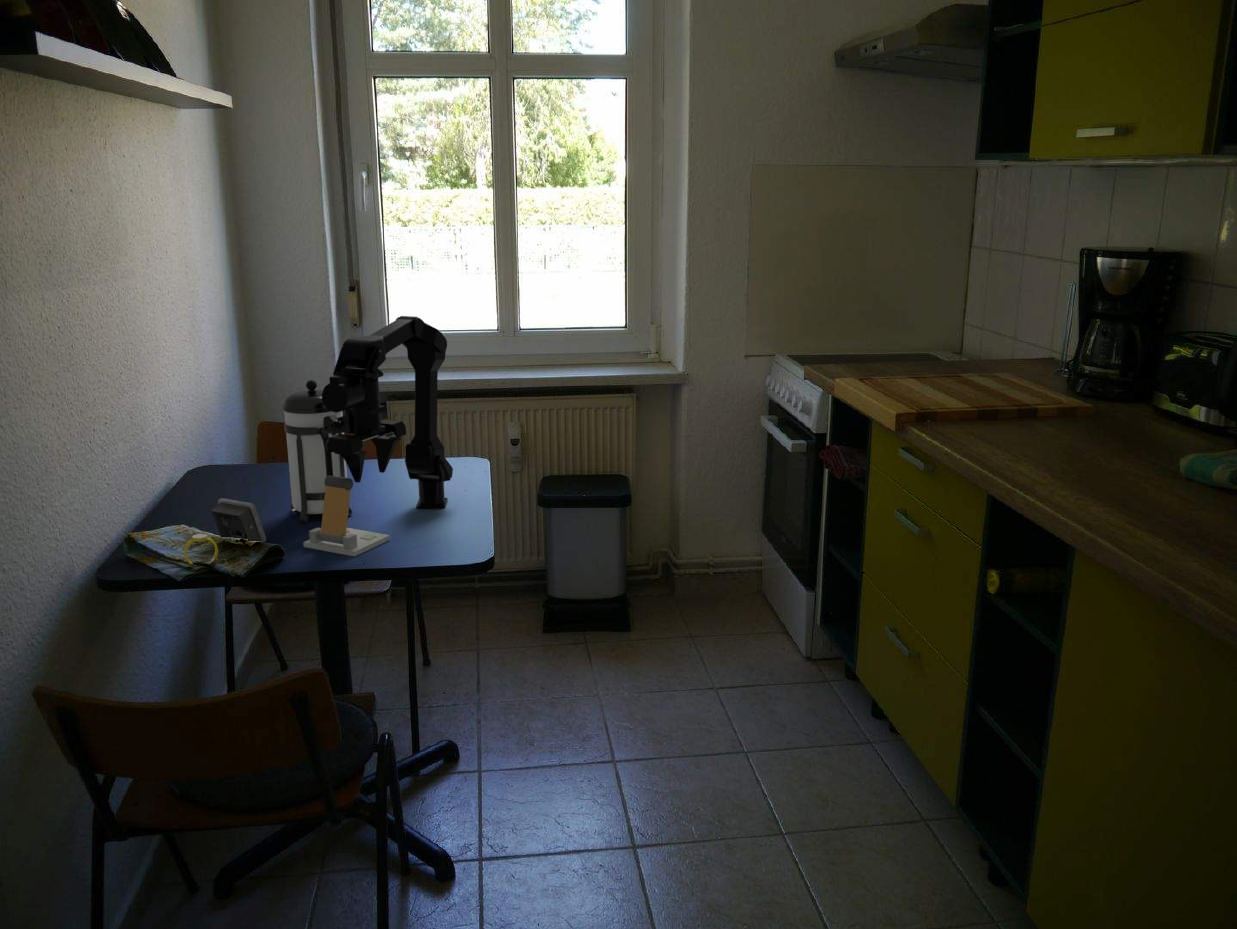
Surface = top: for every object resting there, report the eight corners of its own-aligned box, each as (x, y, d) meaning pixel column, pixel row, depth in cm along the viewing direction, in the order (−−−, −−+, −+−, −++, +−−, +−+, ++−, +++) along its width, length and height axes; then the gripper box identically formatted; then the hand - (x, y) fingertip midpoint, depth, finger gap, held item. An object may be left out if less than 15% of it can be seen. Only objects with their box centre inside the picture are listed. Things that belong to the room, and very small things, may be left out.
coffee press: (268, 520, 224) (256, 384, 216) (314, 500, 238) (304, 372, 231) (334, 530, 218) (324, 390, 210) (378, 508, 232) (370, 377, 224)
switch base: (340, 530, 218) (338, 515, 217) (389, 539, 212) (388, 523, 211) (303, 546, 208) (302, 530, 207) (354, 556, 203) (353, 539, 202)
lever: (324, 540, 208) (331, 475, 208) (348, 544, 206) (355, 478, 205) (316, 540, 206) (323, 475, 206) (340, 544, 204) (347, 478, 203)
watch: (216, 561, 201) (216, 532, 199) (219, 565, 198) (218, 536, 197) (183, 564, 198) (182, 535, 196) (185, 569, 195) (184, 539, 194)
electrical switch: (267, 542, 211) (260, 500, 207) (249, 552, 206) (241, 509, 203) (233, 536, 214) (225, 494, 211) (214, 546, 210) (206, 503, 207)
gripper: (362, 390, 217) (366, 461, 222) (301, 407, 201) (307, 484, 205) (405, 394, 213) (409, 467, 217) (347, 412, 197) (352, 491, 201)
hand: (370, 477), depth 210 cm, fingers open, 8 cm apart
